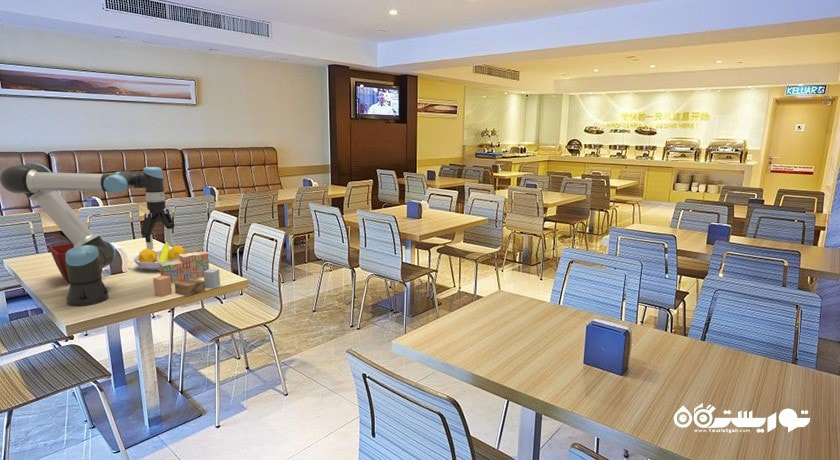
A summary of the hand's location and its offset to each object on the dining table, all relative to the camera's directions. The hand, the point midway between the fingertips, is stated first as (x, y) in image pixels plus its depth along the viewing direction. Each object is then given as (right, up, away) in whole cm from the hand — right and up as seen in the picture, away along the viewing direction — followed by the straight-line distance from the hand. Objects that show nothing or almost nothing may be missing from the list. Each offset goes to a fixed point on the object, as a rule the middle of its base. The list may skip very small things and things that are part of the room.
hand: (160, 245), depth 221 cm
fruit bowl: (-19, -13, +38) cm, 44 cm away
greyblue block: (+22, -20, +6) cm, 30 cm away
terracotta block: (+4, -22, -5) cm, 23 cm away
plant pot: (-47, -17, +14) cm, 52 cm away
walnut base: (+15, -22, -1) cm, 27 cm away
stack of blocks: (+3, -18, +18) cm, 25 cm away
